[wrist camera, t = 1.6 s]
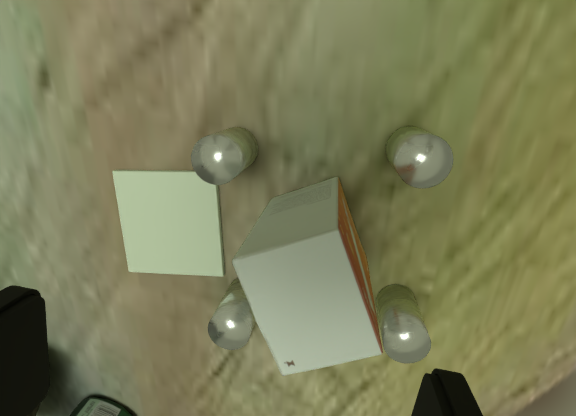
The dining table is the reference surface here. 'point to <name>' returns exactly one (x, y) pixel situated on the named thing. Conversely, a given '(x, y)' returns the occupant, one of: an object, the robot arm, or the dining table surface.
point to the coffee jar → (99, 408)
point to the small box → (309, 280)
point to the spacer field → (391, 299)
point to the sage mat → (170, 222)
